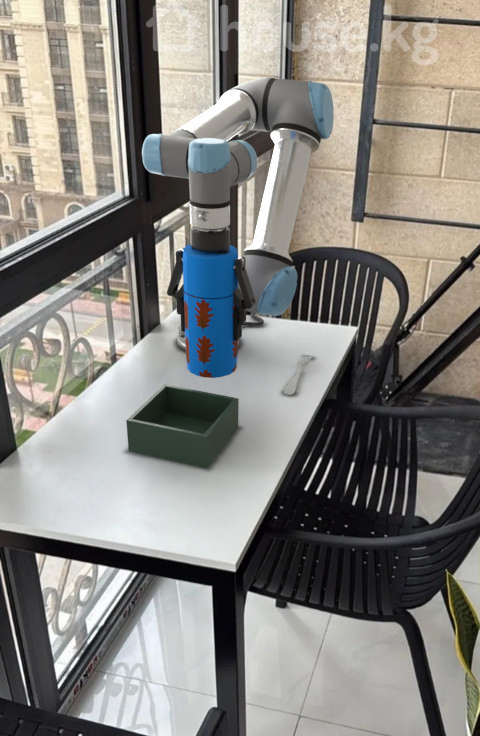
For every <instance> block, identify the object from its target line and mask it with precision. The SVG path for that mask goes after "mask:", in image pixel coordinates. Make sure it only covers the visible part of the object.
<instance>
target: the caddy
mask: <svg viewBox="0 0 480 736" xmlns="http://www.w3.org/2000/svg"><path fill="white" fill-rule="evenodd" d="M239 402H240V399H239V398H238V397H233V396H228V395H222V394H219V393H211V392H207V391H202V390H196V389H191V388H186V387H182V386H177V385H171V384H166V383H164V384H163V385H162V386H160V387H159V389H157V390H156V392H154V393H153V394H152V395H151V396H150V397H149V398H147V400H146V401H145V402H144V403H143V404H141V405H140V406H139V407H138V408H137V409H136V410H135V411H134V412H133V413H132V414H131V415H130V416H129V417H128V418H127V419H126V420H125V421H126V434H127V436H126V437H127V447H128V452H130V453H136V454H140V455H144V456H148V457H152V458H157V459H162V460H167V461H172V462H175V463H176V462H177V463H181V464H186V465H190V466H195V467H199V468H204V469H208V468H209V467H210V466H211V464H212V463H213V462H214V461H215V459H216V458H217V457H218V456H219V454H220V453H221V451H222V450H224V447H225V446H226V445H227V444H228V442H229V441H230V440H231V439H232V437H233V436H234V435H235V434H236V432H237V431H238V429H239V409H240V407H239V406H240V405H239V404H240V403H239Z"/></svg>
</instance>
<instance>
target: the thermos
mask: <svg viewBox="0 0 480 736" xmlns="http://www.w3.org/2000/svg"><path fill="white" fill-rule="evenodd" d="M183 248H184V249H183V274H182V283H183V282H184V313H185V345H186V350H185V355H186V356H185V357H186V358H185V359H186V369H187V370H188V372H189V373H190V374H193V375H194V376H197V377H201V378H208V379H209V378H210V379H216V378H217V379H218V378H223V377H228V376H229V375H231V374H233V373H235V372H236V370H237V367H238V365H237V364H238V353H239V347H238V346H239V345H238V341H234V309H236V308H237V307H236V305H235V303H234V301H233V295H232V294H233V290H235V291H236V289H237V287H238V279H237V276H236V272H235V269H234V268H233V266H234V265H235V262H236V261H235V258H236V257H238V258H239V254H238V253H239V252H238V248H236V247H235V246H234V245H232V244H230V249H229V251H230V252H229V253H227V254H225V253H222V254H221V253H214V252H203V251H198V250H194V249H191V243H190V244H188V245H186V246H184V247H183Z"/></svg>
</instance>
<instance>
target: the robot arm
mask: <svg viewBox="0 0 480 736" xmlns="http://www.w3.org/2000/svg"><path fill="white" fill-rule="evenodd" d="M334 112H335V111H334V100H333V95H332V91H331V89H330V87H328V85H327V84H325V83H323V82H315V81H312V80H308V81H307V80H296V79H287V78H275V77H260V78H255V79H251V80H248V81H246V82H243V83H240V84H238V85H236V86H234V87H232V88H230V89H229V90H227V91H225V92H224V93H223V94H222V95H221V96H220V98H219V99H218V102H217V103H216V104H214V105H213V106H212V107H210V108H207V110H205V111H204V112H202V113H201V114H199V115H198V116H196V117H194V118H193V119H191V120H190V121H188V122H187V123H185V124H184V125H181V127H179V128H178V129H176V130H174V131H173V132H171V133H170V134H163V133H152V134H148V135H147V136H146V137H145V139H144V141H143V144H142V148H141V157H142V163H143V166H144V168H145V170H147V171H148V172H149V173H151V174H156V175H159V176H162V177H173V178H181V179H188V186H189V188H188V189H189V223H190V225H191V228H190V229H189V231H190V244H191V249H194V250H198V251H203V252H214V253H221V254H222V253H225V254H227V253H229V252H230V251H229V249H230V245H231V244H230V243H231V229H230V228H229V226H230V225H231V205H230V204H231V188H232V187H234V186H236V185H238V184H241V183H244V182H246V181H247V180H248V179H249V178H251V176H253V175H254V173H255V172H256V170H257V167H258V155H257V152H256V150H255V149H254V147H253V145H251V143H249V142H247V141H246V140H242V139H237V140H235V139H233V138H234V137H235V136H236V135H244V134H247V133H248V132H251V131H257V132H264V133H265V132H266V133H270V138H271V140H272V141H273V143H274V147H273V152H272V156H271V161H270V164H269V165H270V166H269V170H268V174H267V179H266V184H265V187H264V192H263V196H262V201H261V204H260V210H259V214H258V218H257V223H256V227H255V231H254V236H253V241H252V244H251V245H250V246H248V247H246V248H244V250H243V255H241V256H240V257H239V256H238V257H236V258H235V261H236V262H235V265H234V266H233V268H234V269H235V272H236V276H237V279H238V287H237V289H236V291H235V290H233V294H232V295H233V301H234V303H235V305H236V307H237V308H236V309H234V341H238V346H239V345H240V339H241V337H242V336H243V327H244V326H249V327H261V326H262V325H264V323H265V320H264V319H263V318H261V317H260V316H272V317H278V316H281V315H282V314H284V313H285V312H286V311H287V310H288V308H290V305H291V303H292V301H293V299H294V297H295V294H296V291H297V285H298V282H297V281H298V272H297V270H296V268H294V267H293V264H294V260H293V259H292V257H291V256H290V254H289V252H290V248H291V244H292V240H293V235H294V232H295V231H294V230H295V225H296V222H297V217H298V213H299V208H300V204H301V199H302V195H303V190H304V185H305V182H306V178H307V174H308V173H307V172H308V169H309V165H310V159H311V156H312V154H313V153H315V152H316V151H317V150H319V149H320V146H321V141H322V140H324V141H325V140H327V139H329V138H331V135H332V132H333V128H334V114H335V113H334ZM231 139H233V140H231ZM184 248H185V247H181V248H179V249H178V250H177V251H175V263H174V267H173V270H172V274H171V277H170V280H169V283H168V287H167V290H166V295H167V296H169V297H173V298H174V299H175V304H176V314H177V315H180V325H179V326H178V331H177V336H176V337H177V339H176V340H177V341H176V342H177V345H178V346H179V347H180V348H181V350H184V351H186V345H185V313H184V282H183V281H182V285H181V286H180V283H181V279H182V278H183V249H184ZM179 286H180V287H179ZM247 312H248V313H250V317H251V318H252V319H253V320H256V321H247ZM256 314H259V315H260V316H257V315H256Z"/></svg>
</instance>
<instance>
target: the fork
mask: <svg viewBox="0 0 480 736" xmlns="http://www.w3.org/2000/svg"><path fill="white" fill-rule="evenodd" d="M311 359H313V357H312V356H305V355H300V356H299V357H298V358H297V360H296V363H297V365H298V366H299V367H298V369H297V372H296V374H295V375H294V376H293V377H292V379H291V380H290V381H289V382H288V383H287V385H286V386H285V388H284V390H283V393H284V394H285V395H286V396H287V395H288V396H293V395H294V394H295V393H296V392H297V391H296V390H297V387H298V382H299V379H300V376H301V374H302V372H303V369H304V367H305V366H307V365H309V363H310V360H311Z"/></svg>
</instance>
